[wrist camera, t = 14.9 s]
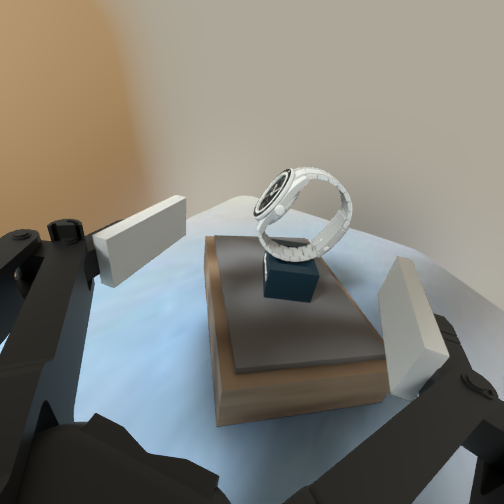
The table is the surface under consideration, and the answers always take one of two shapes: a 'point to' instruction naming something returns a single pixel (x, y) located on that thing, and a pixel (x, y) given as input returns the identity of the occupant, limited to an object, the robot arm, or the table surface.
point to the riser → (284, 341)
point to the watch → (295, 253)
